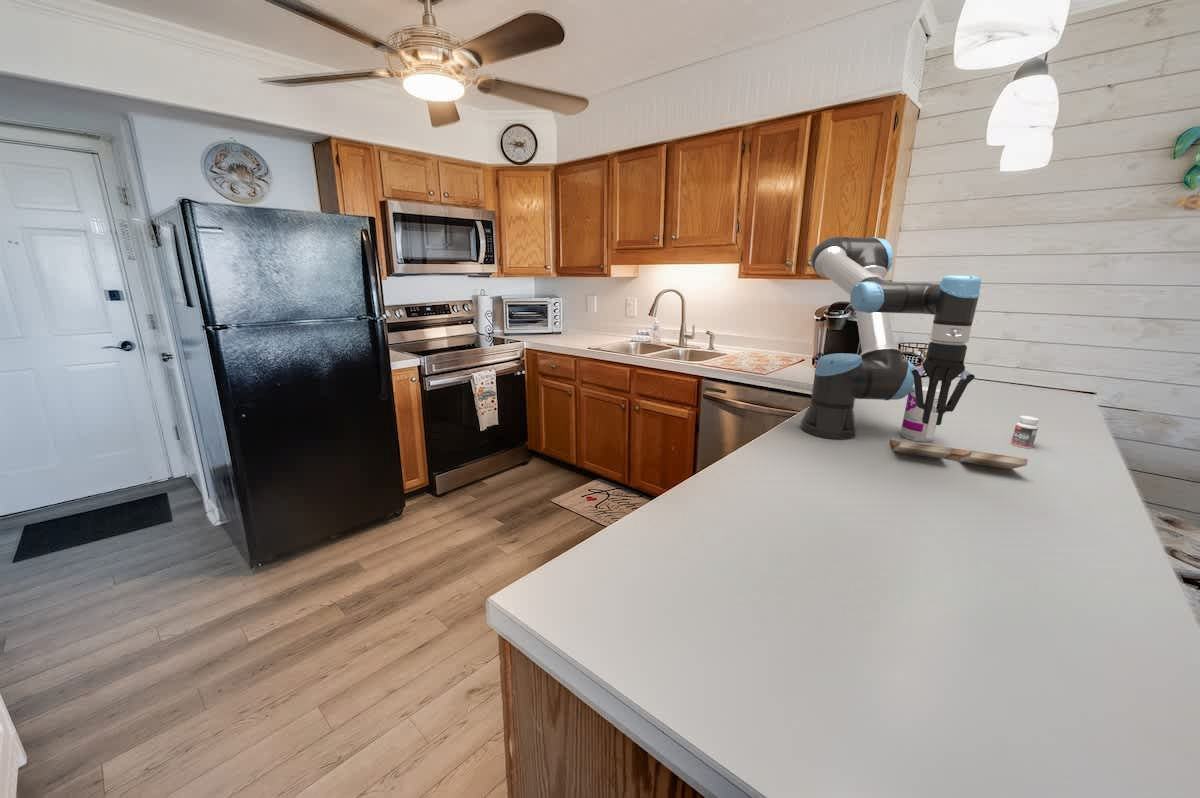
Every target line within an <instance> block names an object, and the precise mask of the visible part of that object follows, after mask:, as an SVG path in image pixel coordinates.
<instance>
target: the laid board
mask: <svg viewBox="0 0 1200 798" xmlns="http://www.w3.org/2000/svg"><path fill="white" fill-rule="evenodd" d="M900 441H901V440H897V439H890V441H889V446H890V448H891V451H892V452H894V451H893V447H894V446H895V445H897V444H898V443H900ZM903 441H904V442H906V441H905V440H903ZM910 442H911V443H913V442H912V441H910ZM917 443H918V442H917ZM918 444H920V443H918ZM925 445H928V444H926V443H925ZM931 445H932V444H931ZM932 446H935V445H932ZM940 447H942V446H940ZM946 447H947V448H949V447H948V446H946ZM951 448H952V449H951V454H950V455H948V456H946V457H943V458H942V459H947V460H952V461H959V462H961V461H960V456H963V455H965V454H968V453H970V451H971V450H969V449H968V450H967V449H961V448H953V447H951ZM974 451H975V450H974ZM975 452H977V451H975ZM981 452H982V453H984V452H983V451H981ZM988 453H989V452H988ZM989 454H991V453H989ZM995 454H996V453H995ZM996 455H999V454H996ZM1003 456H1005V455H1003Z"/></svg>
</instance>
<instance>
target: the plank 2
mask: <svg viewBox="0 0 1200 798" xmlns="http://www.w3.org/2000/svg"><path fill="white" fill-rule="evenodd" d="M969 451H970V453H968V454H965V455H963V456H960V461H959V462H963V463H968V464H969V463H971V464H977V465H981V466H982V465H983V466H990V467H997V468H1003V469H1008V470H1009V469H1011V470H1014V469H1018V468H1022V467H1027V466H1028V460H1029V459H1028V458H1024V457H1016V456H1010V455H1009V456H1008V455H1004V456H1003V455H1002V454H998V455H996V453H990V454H989V452H983V451H976V452H975V450H969ZM982 452H983V453H982Z"/></svg>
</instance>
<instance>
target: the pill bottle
mask: <svg viewBox="0 0 1200 798" xmlns="http://www.w3.org/2000/svg"><path fill="white" fill-rule="evenodd" d="M1039 421H1040V419H1039V418H1037V417H1035V416H1030V415H1020V416H1019V419H1018V422H1016V424H1015V427H1014V430H1013V434H1012V438H1011V442H1010V444H1011V445H1012V446H1015V447H1018V448H1023V449H1032V448H1033V446H1034V443H1035V440H1036V435H1037V433H1038V429H1039V426H1038V424H1039Z"/></svg>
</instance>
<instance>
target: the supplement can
mask: <svg viewBox="0 0 1200 798" xmlns="http://www.w3.org/2000/svg"><path fill="white" fill-rule="evenodd" d="M927 390H928V386H925V385H922V391H923V402H924V404H925V400H926V395H927ZM939 393H940V388H936V393H935V397H934V402H933V407H932V410H935V411H936V410H937V409H936V407H937V403H938V398H939ZM923 412H924V410H923V409H921V408H919V407H918V406H917V405H916V396H915V385H913V387H912V389H911V391H910V392H909V394H908V395H907V399H906V405H905V409H904V412H903V413H904V414H903V418H902V419H903V420H902V423H901V429H900V434H901V436H902V437H903V438H905V439H907V440H910V441H913V442H914V441H915V442H920V443H927V442H930V441H932V440H933V439H932V438H926V437H925V436H924V431H925V426H926V424H924V423H923V422H922V417H923ZM936 428H937V426H936V427H935V429H936ZM935 433H936V430H935V431H934V434H935ZM934 436H935V435H934ZM934 436H933V438H934Z"/></svg>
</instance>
